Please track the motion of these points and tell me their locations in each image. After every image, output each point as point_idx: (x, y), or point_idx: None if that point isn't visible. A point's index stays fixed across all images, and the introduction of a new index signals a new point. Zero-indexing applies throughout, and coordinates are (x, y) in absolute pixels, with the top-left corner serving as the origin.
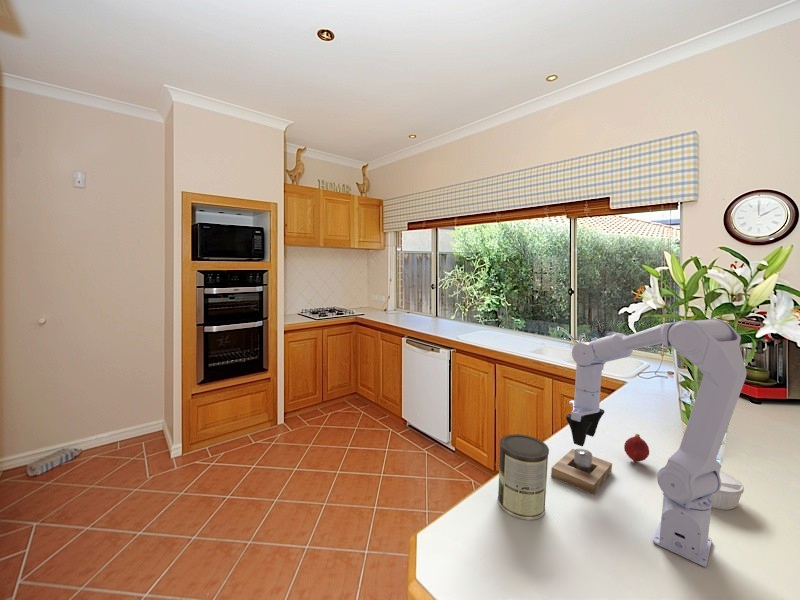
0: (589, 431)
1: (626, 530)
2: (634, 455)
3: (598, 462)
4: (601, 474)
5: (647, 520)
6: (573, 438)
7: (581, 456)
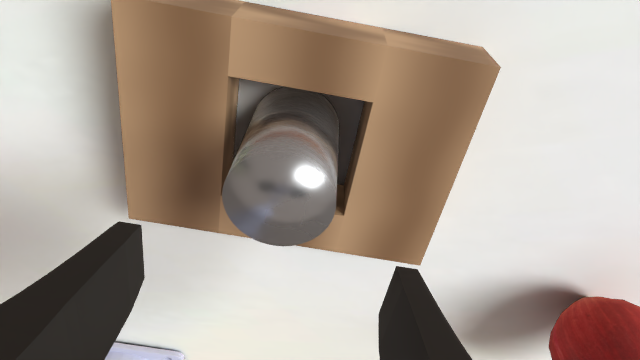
0: (388, 325)
1: None
2: (555, 338)
3: (386, 216)
4: None
5: (147, 322)
6: (85, 251)
7: (224, 195)
